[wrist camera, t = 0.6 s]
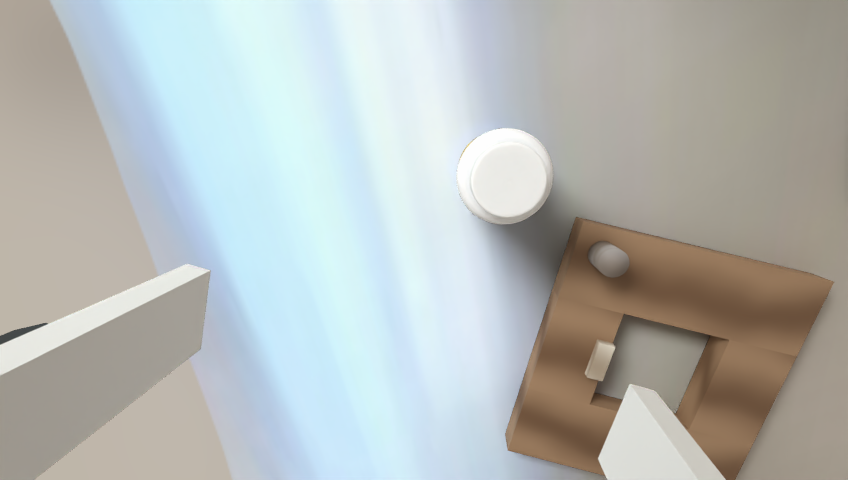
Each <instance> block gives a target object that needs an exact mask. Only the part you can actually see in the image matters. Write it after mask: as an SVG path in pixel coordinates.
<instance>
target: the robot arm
mask: <svg viewBox="0 0 848 480" xmlns="http://www.w3.org/2000/svg"><path fill="white" fill-rule="evenodd" d="M210 272H211V270H207V269H204V268H200V267H196V266H193V265H189V264H186V265H183V266H181V267H179V268H176V269H174V270H172V271H170V272H167V273H165V274H163V275H160V276H158V277H156V278H153V279H151V280H149V281H147V282H144V283H142V284H140V285H137V286H135V287H133V288H130V289H128V290H126V291H124V292H121V293H119V294H117V295H114V296H112V297H110V298H107V299H105V300H103V301H101V302H98V303H96V304H93V305H91V306H89V307H87V308H84V309H82V310H80V311H77V312H75V313H73V314H70V315H68V316H66V317H63V318H61V319H59V320H56V321H54V322H52V323H49V324H48V323H43V324H39V325H35V326H31V327H26V328H22V329H17V330H14V331H11V332H9V333H6V334H4V335H1V336H0V480H34V479H36V478H37V477H38V476H40V475H41V474H42V473H43V472H45V471H46V470H47V469H48V468H50V467H51V466H52V465H54V464H55V463H56V462H57V461H59V460H60V459H61V458H62V457H64V456H65V455H66V454H68V453H69V452H70V451H71V450H73V449H74V448H75V447H77V446H78V445H79V444H80V443H81V442H83V441H84V440H85V439H87V438H88V437H89V436H90V435H92V434H93V433H94V432H96V431H97V430H98V429H99V428H101V427H102V426H103V425H104V424H106V423H107V422H108V421H110V420H111V419H112V418H114V417H115V416H116V415H117V414H119V413H120V412H121V411H122V410H124V409H125V408H126V407H128V406H129V405H130V404H131V403H133V402H134V401H135V400H136V399H138V398H139V397H140V396H141V395H143V394H144V393H145V392H147V391H148V390H149V389H150V388H152V387H153V386H154V385H156V384H157V383H158V382H159V381H161V380H162V379H163V378H164V377H166V376H167V375H168V374H170V373H171V372H172V371H173V370H175V369H176V368H177V367H178V366H180V365H181V364H182V363H184V362H185V361H186V360H187V359H189V358H190V357H191V356H193V355H194V354H195V353H196V352H198V351H199V350H200V349H201V343H202V335H203V327H204V319H205V311H206V303H207V295H208V287H209V280H210ZM598 460H599V462H600V465H601V467H602V469H603V471H604V474H605V476H606V478H607V480H726V479H725V478H724V477H723V475H722V474H721V473H720V472H719V470H718V469H717V468H716V467H715V465H714V464H713V463H712V462H711V460H710V459H709V458H708V457H707V455H706V454H705V453H704V452H703V450H702V449H701V448H700V447H699V445H698V444H697V443H696V442H695V440H694V439H693V438H692V437H691V435H690V434H689V433H688V431H687V430H686V429H685V428H684V426H683V425H682V424H681V423H680V421H679V420H678V419H677V418H676V416H675V415H674V414H673V413H672V411H671V410H670V409H669V408H668V406H667V405H666V404H665V403H664V401H663V400H662V399H661V398H660V396H659V395H658V394H657V393H656V391H655V390H651V389H647V388H644V387H640V386H636V385H633V384H629V387H628V389H627V391H626V394H625V396H624V398H623V401H622V403H621V405H620V408H619V410H618V412H617V415H616V417H615V420H614V422H613V424H612V427H611V429H610V431H609V434H608V436H607V438H606V441H605V443H604V445H603V448H602V450H601V453H600V455H599V457H598Z"/></svg>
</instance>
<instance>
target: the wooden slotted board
mask: <svg viewBox="0 0 848 480" xmlns="http://www.w3.org/2000/svg"><path fill="white" fill-rule="evenodd" d="M833 283H834V282H833V281H830V280H828V279H825V278H822V277H819V276H816V275H814V274H811V273H807V272H803V271H799V270H794V269H790V268H786V267H782V266H778V265H774V264H770V263H765V262H761V261H757V260H753V259H749V258H745V257H740V256H736V255H732V254H728V253H724V252H720V251H715V250H711V249H707V248H703V247H699V246H695V245H691V244H686V243H682V242H678V241H674V240H670V239H666V238H661V237H657V236H653V235H649V234H645V233H641V232H637V231H632V230H628V229H624V228H620V227H616V226H612V225H607V224H603V223H599V222H595V221H591V220H587V219H582V218H578V217H576V218H575V221H574V224H573V228H572V231H571V234H570V237H569V240H568V243H567V246H566V249H565V252H564V255H563V258H562V261H561V264H560V267H559V270H558V274H557V277H556V280H555V283H554V286H553V289H552V292H551V295H550V298H549V301H548V304H547V307H546V310H545V313H544V317H543V320H542V323H541V326H540V329H539V332H538V335H537V338H536V341H535V344H534V347H533V350H532V353H531V356H530V359H529V363H528V366H527V369H526V372H525V375H524V378H523V381H522V384H521V387H520V390H519V393H518V396H517V399H516V402H515V406H514V409H513V412H512V415H511V418H510V421H509V424H508V427H507V430H506V433H505V436H506V442H507V448H508V451H512V452H516V453H520V454H524V455H528V456H532V457H535V458H539V459H543V460H547V461H551V462H555V463H558V464H562V465H566V466H570V467H574V468H578V469H581V470H585V471H589V472H593V473H597V474H601V475H605V474H604V471H603V469H602V467H601V465H600V462H599V460H598V457H599V455H600V453H601V450H602V448H603V445H604V443H605V441H606V438H607V436H608V434H609V431H610V429H611V427H612V424H613V422H614V420H615V417H616V415H617V412H618V410H619V408H620V405H621V403H622V401H623V400H621V399H617V398H613V397H609V396H605V395H601V394H597V393H594V391H595V389H596V386H597V383H598V381H603V379H604V376H605V373H606V371H607V368H608V366H609V363H610V360H611V358H612V355H613V352H614V350H615V346H614V344H613V341H614V338H615V336H616V333H617V330H618V328H619V325H620V322H621V320H622V317H623V314H627V315H631V316H635V317H639V318H643V319H647V320H651V321H655V322H659V323H663V324H667V325H671V326H675V327H679V328H683V329H688V330H692V331H696V332H700V333H704V334H708V335H710V337H709V340H708V342H707V344H706V346H705V349H704V351H703V353H702V356H701V358H700V360H699V362H698V365H697V367H696V369H695V371H694V374H693V376H692V378H691V381H690V383H689V385H688V387H687V390H686V392H685V394H684V397H683V399H682V401H681V403H680V406H679V408H678V410H677V413H673V414H674V415H675V416H676V418H677V419H678V420H679V421H680V423H681V424H682V425H683V426H684V428H685V429H686V430H687V431H688V433H689V434H690V435H691V437H692V438H693V439H694V440H695V442H696V443H697V444H698V445H699V447H700V448H701V449H702V450H703V452H704V453H705V454H706V455H707V457H708V458H709V459H710V460H711V462H712V463H713V464H714V465H715V467H716V468H717V469H718V470H719V472H720V473H721V474H722V475H723V477H724V478H725V479H726V480H735V479H736V477H737V475H738V473H739V471H740V469H741V467H742V465H743V463H744V461H745V459H746V457H747V455H748V453H749V451H750V449H751V447H752V445H753V443H754V441H755V439H756V437H757V435H758V433H759V431H760V429H761V427H762V425H763V423H764V421H765V419H766V417H767V415H768V413H769V411H770V409H771V407H772V405H773V403H774V401H775V399H776V397H777V395H778V393H779V391H780V389H781V387H782V385H783V383H784V381H785V379H786V377H787V375H788V373H789V371H790V369H791V367H792V365H793V363H794V361H795V359H796V357H797V355H798V353H799V351H800V349H801V347H802V345H803V343H804V341H805V339H806V337H807V335H808V333H809V331H810V329H811V327H812V325H813V323H814V321H815V319H816V317H817V315H818V313H819V311H820V309H821V307H822V305H823V303H824V301H825V299H826V297H827V295H828V293H829V291H830V289H831V287H832V285H833Z"/></svg>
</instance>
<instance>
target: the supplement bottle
mask: <svg viewBox="0 0 848 480" xmlns="http://www.w3.org/2000/svg"><path fill="white" fill-rule="evenodd" d="M456 180H457V187H458V191H459V195H460V197H461V199H462V201H463V203H464V204H465V206H466V207H467V208H468V209H469V210H470V211H471V212H472V213H473V214H474V215H475V216H477V217H478V218H480V219H482V220H484V221H487V222H490V223H494V224H513V223H517V222H520V221H522V220H525V219H527V218H528V217H530V216H532V215H533V214H534V213H536V212H537V211H538V210H539V209H540V208H541V207H542V205H543V204H544V203H545V201H546V199H547V198H548V196H549V193H550V191H551V187H552V183H553V166H552V162H551V159H550V156H549V154H548V152H547V150H546V149H545V147H544V146H543V145H542V144H541V142H540V141H538V140H537V139H536V138H535V137H534V136H532V135H530V134H528V133H527V132H524V131H521V130H518V129H512V128H499V129H495V130H491V131H488V132H486V133H484V134H482V135H480V136H478V137H477V138H475V139H474V140H473V141H472V142H470V143H469V144H468V146H467V147H466V148H465V150H464V151H463V153H462V155H461V157H460V160H459V164H458V167H457V176H456Z"/></svg>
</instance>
